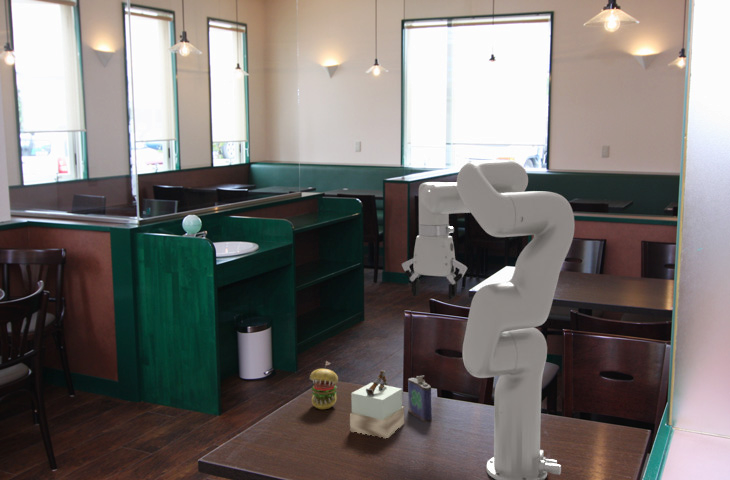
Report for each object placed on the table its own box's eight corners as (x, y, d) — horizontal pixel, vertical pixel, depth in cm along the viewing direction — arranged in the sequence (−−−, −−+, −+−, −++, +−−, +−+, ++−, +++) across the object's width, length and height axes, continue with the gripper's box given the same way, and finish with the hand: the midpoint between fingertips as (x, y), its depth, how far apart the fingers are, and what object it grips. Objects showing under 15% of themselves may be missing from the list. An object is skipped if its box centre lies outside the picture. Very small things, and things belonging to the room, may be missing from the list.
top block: (402, 408, 173) (401, 388, 172) (382, 420, 165) (382, 399, 165) (371, 401, 178) (371, 382, 177) (351, 412, 170) (351, 393, 170)
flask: (406, 411, 183) (406, 371, 181) (415, 408, 184) (415, 369, 183) (425, 423, 175) (425, 382, 173) (435, 420, 176) (435, 380, 175)
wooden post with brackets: (391, 382, 174) (387, 368, 172) (376, 404, 168) (371, 389, 166) (385, 381, 175) (380, 367, 173) (370, 402, 169) (365, 388, 167)
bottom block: (404, 425, 175) (404, 406, 174) (387, 440, 166) (387, 420, 165) (368, 419, 179) (368, 400, 178) (350, 433, 170) (349, 414, 170)
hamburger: (306, 409, 185) (304, 366, 183) (315, 400, 192) (314, 358, 190) (333, 412, 182) (332, 368, 181) (342, 402, 189) (341, 360, 188)
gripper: (471, 230, 176) (470, 296, 178) (407, 228, 184) (408, 291, 186) (461, 234, 169) (461, 303, 172) (396, 231, 177) (397, 297, 179)
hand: (434, 297), depth 179 cm, fingers open, 9 cm apart
